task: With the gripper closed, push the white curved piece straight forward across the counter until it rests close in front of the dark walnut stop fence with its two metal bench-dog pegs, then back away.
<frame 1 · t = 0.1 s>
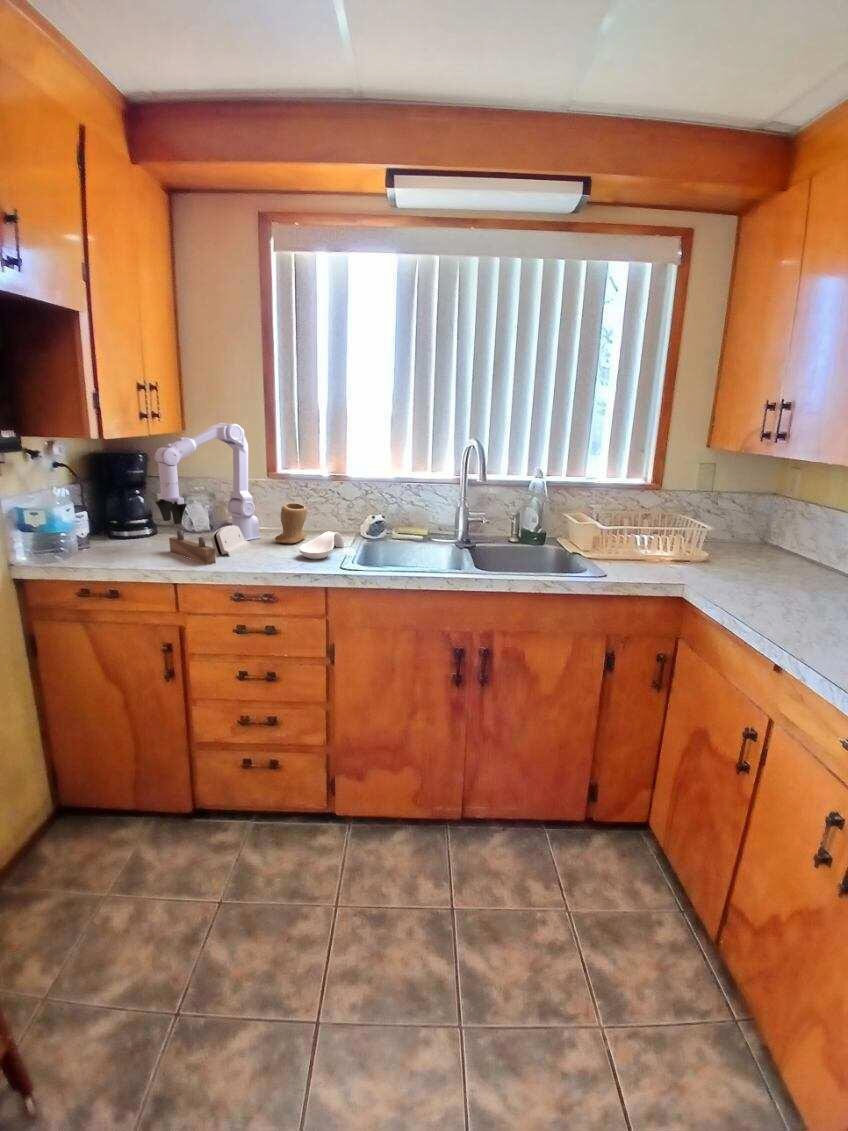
hand: (172, 522, 197), 10 cm above the counter, tool pointing down, fingers open, 7 cm apart
brown boot vase: (293, 541, 220), on the counter
white curved piece: (230, 551, 202), on the counter
spoon rest: (323, 554, 203), on the counter
stop fence: (192, 557, 191), on the counter
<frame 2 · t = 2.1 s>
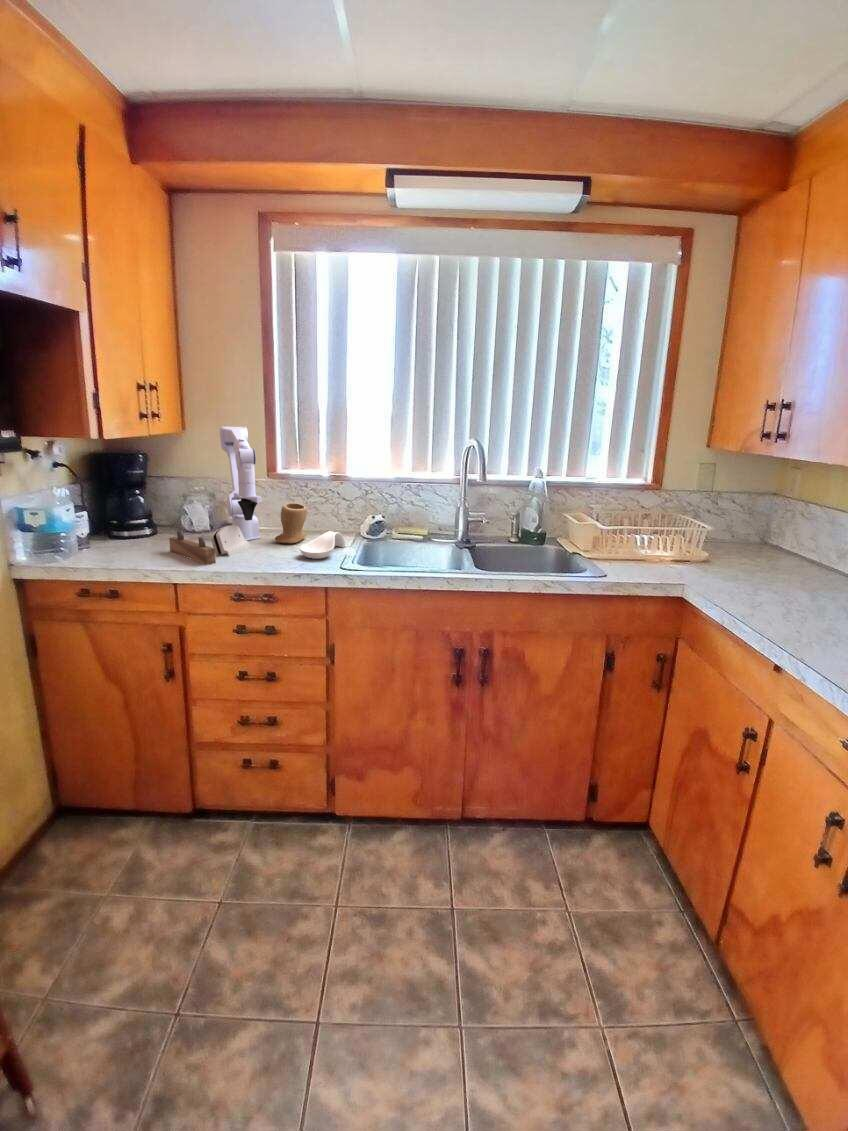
hand: (248, 520, 205), 10 cm above the counter, tool pointing down, fingers closed
nothing on the counter moved.
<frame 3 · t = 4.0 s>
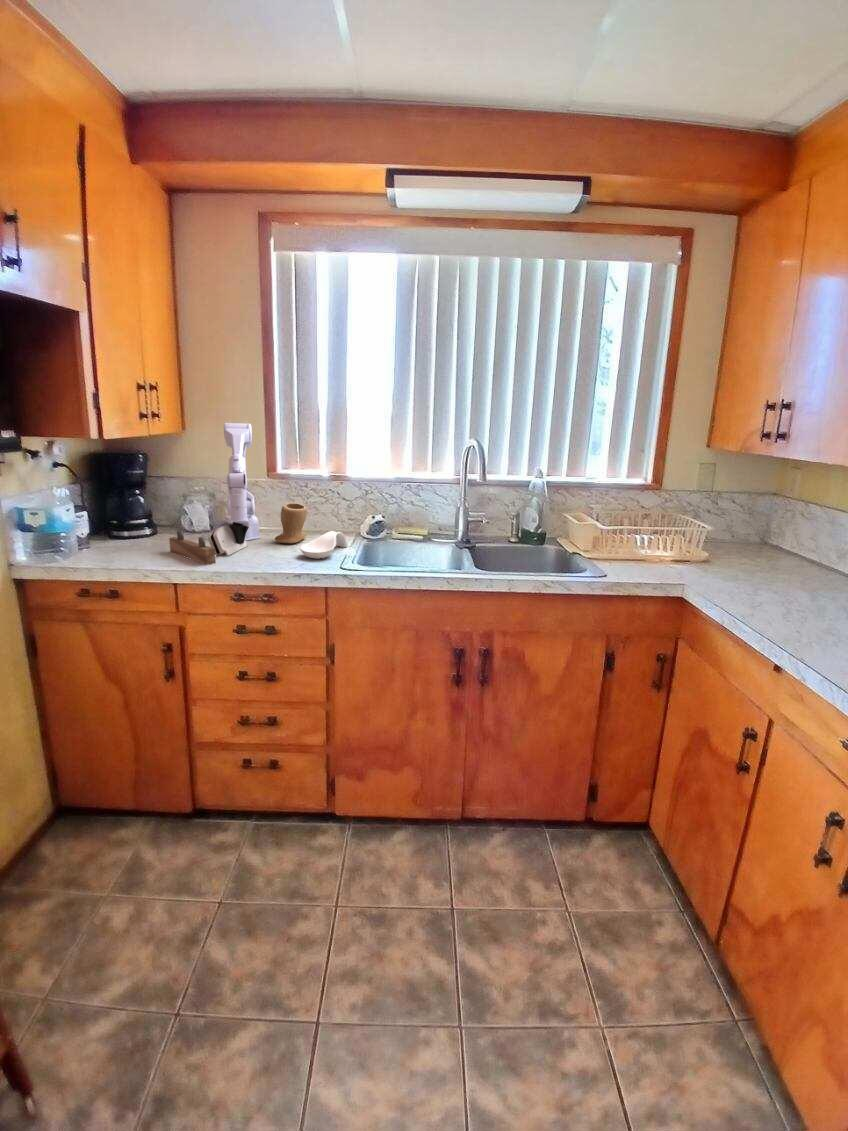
hand: (240, 543, 204), 2 cm above the counter, tool pointing down, fingers closed
white curved piece: (228, 551, 202), on the counter, touching gripper
everything else where it was.
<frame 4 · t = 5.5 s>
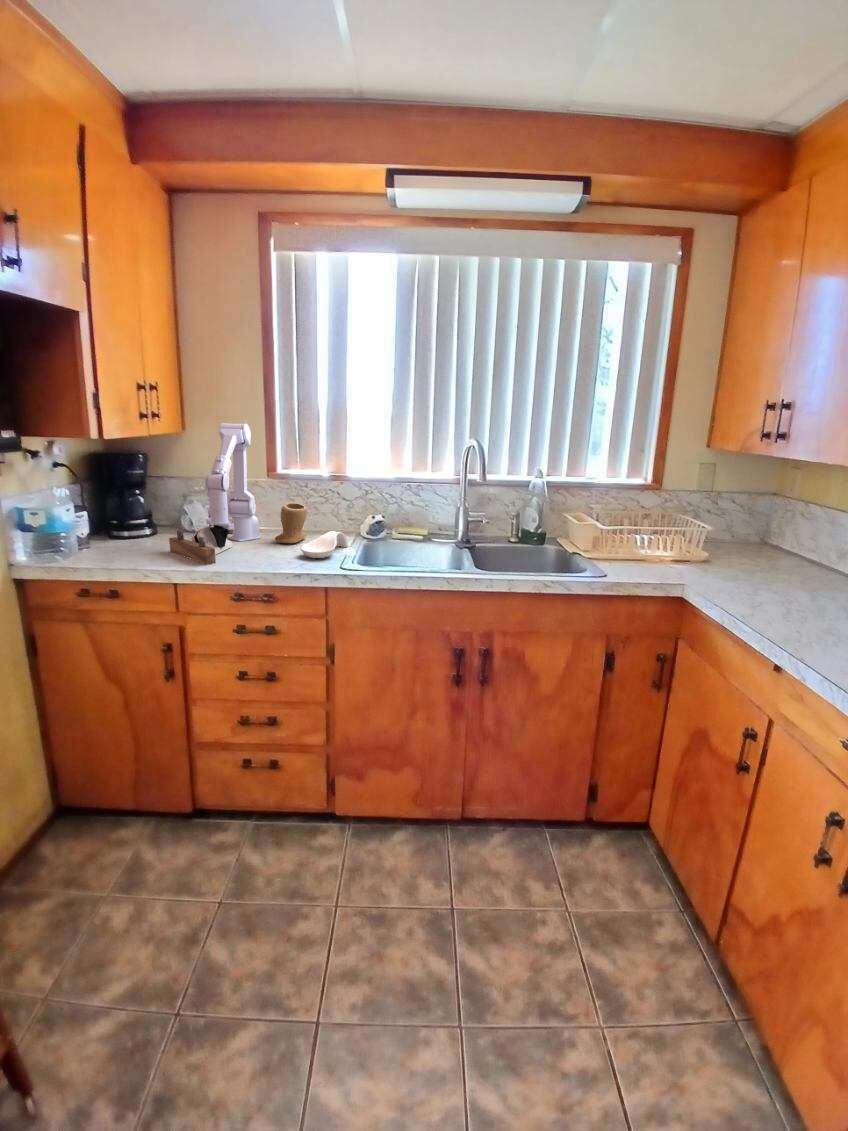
hand: (221, 546, 199), 2 cm above the counter, tool pointing down, fingers closed
white curved piece: (213, 552, 200), on the counter, touching gripper
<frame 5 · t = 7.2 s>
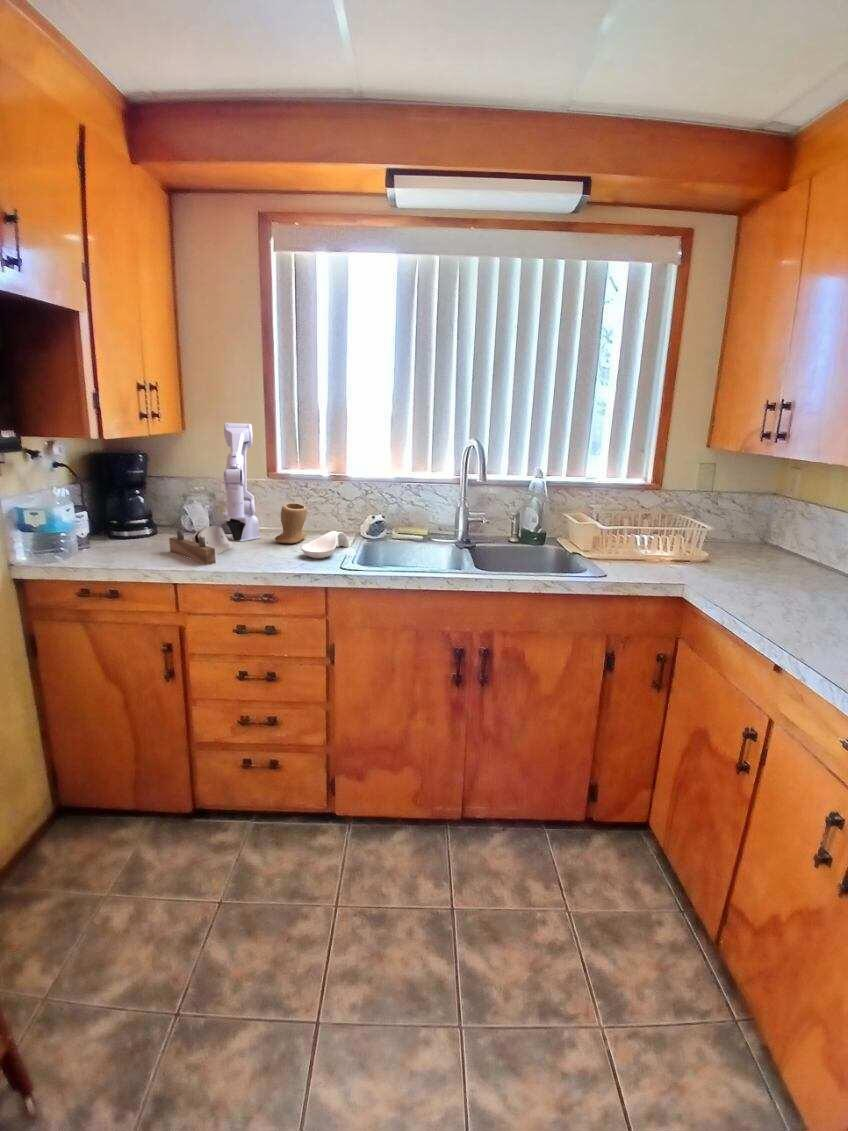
hand: (237, 540, 203), 3 cm above the counter, tool pointing down, fingers closed
white curved piece: (212, 552, 200), on the counter
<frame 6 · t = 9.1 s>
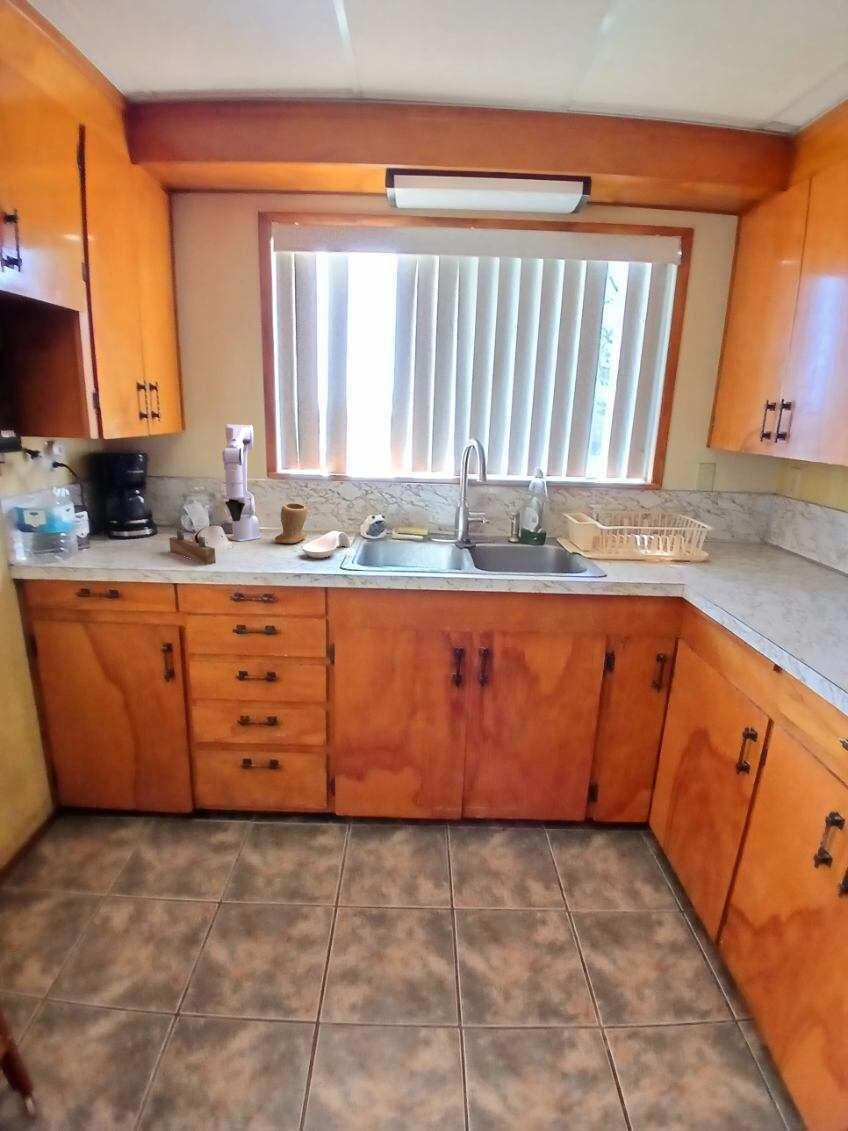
hand: (236, 520, 201), 10 cm above the counter, tool pointing down, fingers closed
at the end: white curved piece inside the target area (3.7 cm from its centre), on the counter; white curved piece tilted 0°; white curved piece moved 6.1 cm from its start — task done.
